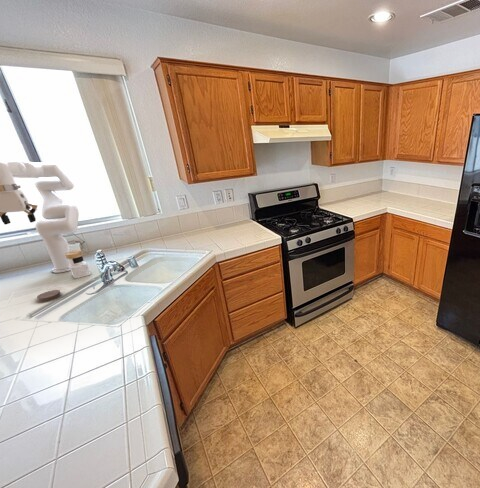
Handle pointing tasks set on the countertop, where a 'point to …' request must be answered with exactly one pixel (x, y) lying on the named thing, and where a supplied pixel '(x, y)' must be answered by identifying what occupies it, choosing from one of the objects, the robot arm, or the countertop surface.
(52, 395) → the countertop surface
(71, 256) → the maple chip
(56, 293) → the walnut chip
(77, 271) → the medicine bottle
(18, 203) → the robot arm
